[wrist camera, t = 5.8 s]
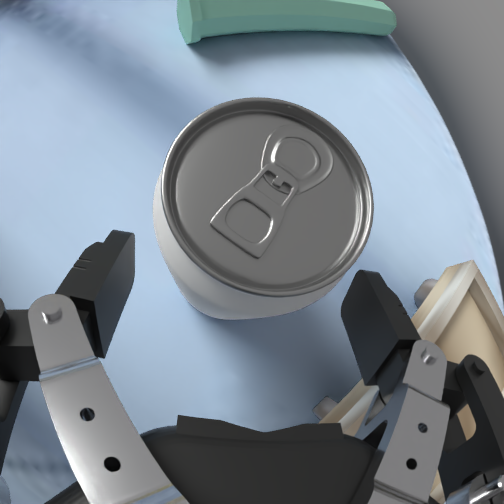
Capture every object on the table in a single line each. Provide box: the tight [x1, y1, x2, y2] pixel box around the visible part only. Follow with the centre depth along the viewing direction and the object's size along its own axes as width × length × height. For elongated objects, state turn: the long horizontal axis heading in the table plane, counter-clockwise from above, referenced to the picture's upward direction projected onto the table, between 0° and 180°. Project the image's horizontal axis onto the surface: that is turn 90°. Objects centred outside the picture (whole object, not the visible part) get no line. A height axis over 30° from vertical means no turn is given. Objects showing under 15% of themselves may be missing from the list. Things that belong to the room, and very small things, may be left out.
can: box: [153, 98, 374, 320], centre depth 13 cm, size 6×6×12 cm
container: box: [177, 0, 397, 44], centre depth 24 cm, size 6×6×25 cm
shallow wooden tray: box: [312, 260, 504, 504], centre depth 16 cm, size 14×12×6 cm
